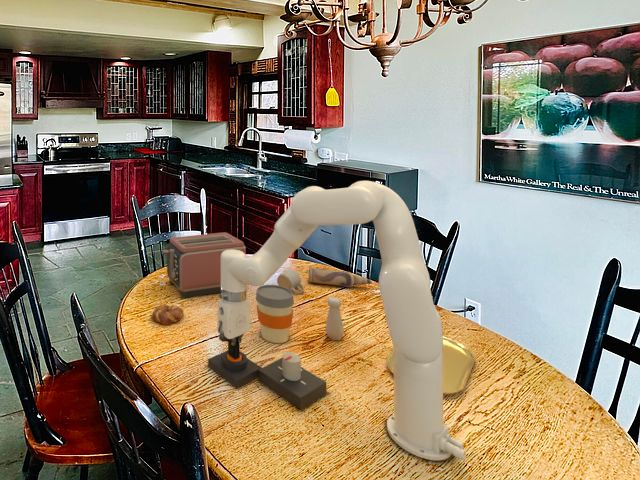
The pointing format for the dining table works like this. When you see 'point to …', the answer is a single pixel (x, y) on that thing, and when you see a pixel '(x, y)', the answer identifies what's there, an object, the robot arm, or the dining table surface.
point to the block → (234, 369)
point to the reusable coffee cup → (275, 312)
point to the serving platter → (450, 365)
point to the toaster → (198, 262)
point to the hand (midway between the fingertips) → (233, 356)
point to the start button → (234, 359)
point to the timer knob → (291, 366)
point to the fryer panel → (293, 384)
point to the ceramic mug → (290, 280)
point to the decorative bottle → (335, 277)
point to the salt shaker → (334, 319)
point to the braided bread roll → (167, 314)
